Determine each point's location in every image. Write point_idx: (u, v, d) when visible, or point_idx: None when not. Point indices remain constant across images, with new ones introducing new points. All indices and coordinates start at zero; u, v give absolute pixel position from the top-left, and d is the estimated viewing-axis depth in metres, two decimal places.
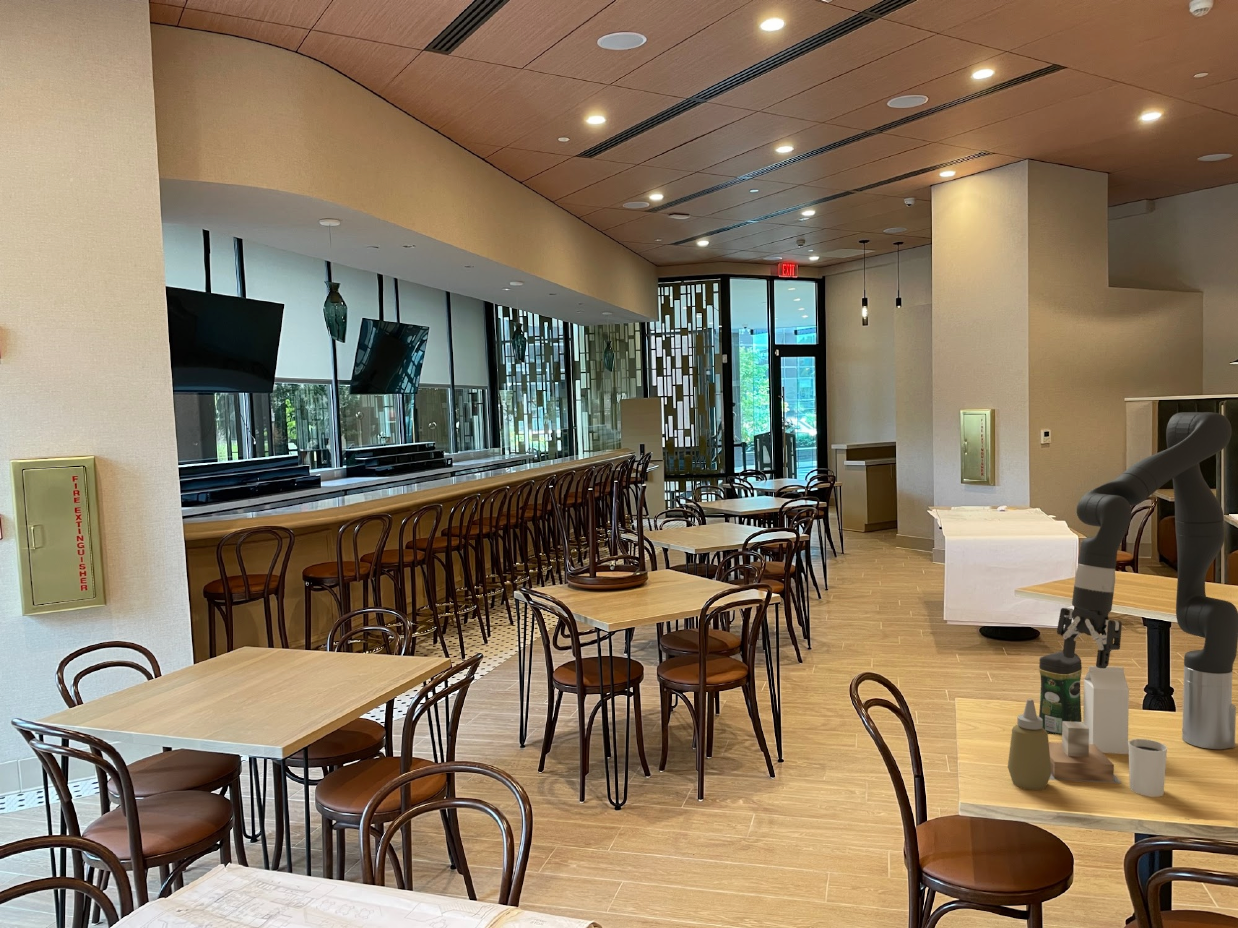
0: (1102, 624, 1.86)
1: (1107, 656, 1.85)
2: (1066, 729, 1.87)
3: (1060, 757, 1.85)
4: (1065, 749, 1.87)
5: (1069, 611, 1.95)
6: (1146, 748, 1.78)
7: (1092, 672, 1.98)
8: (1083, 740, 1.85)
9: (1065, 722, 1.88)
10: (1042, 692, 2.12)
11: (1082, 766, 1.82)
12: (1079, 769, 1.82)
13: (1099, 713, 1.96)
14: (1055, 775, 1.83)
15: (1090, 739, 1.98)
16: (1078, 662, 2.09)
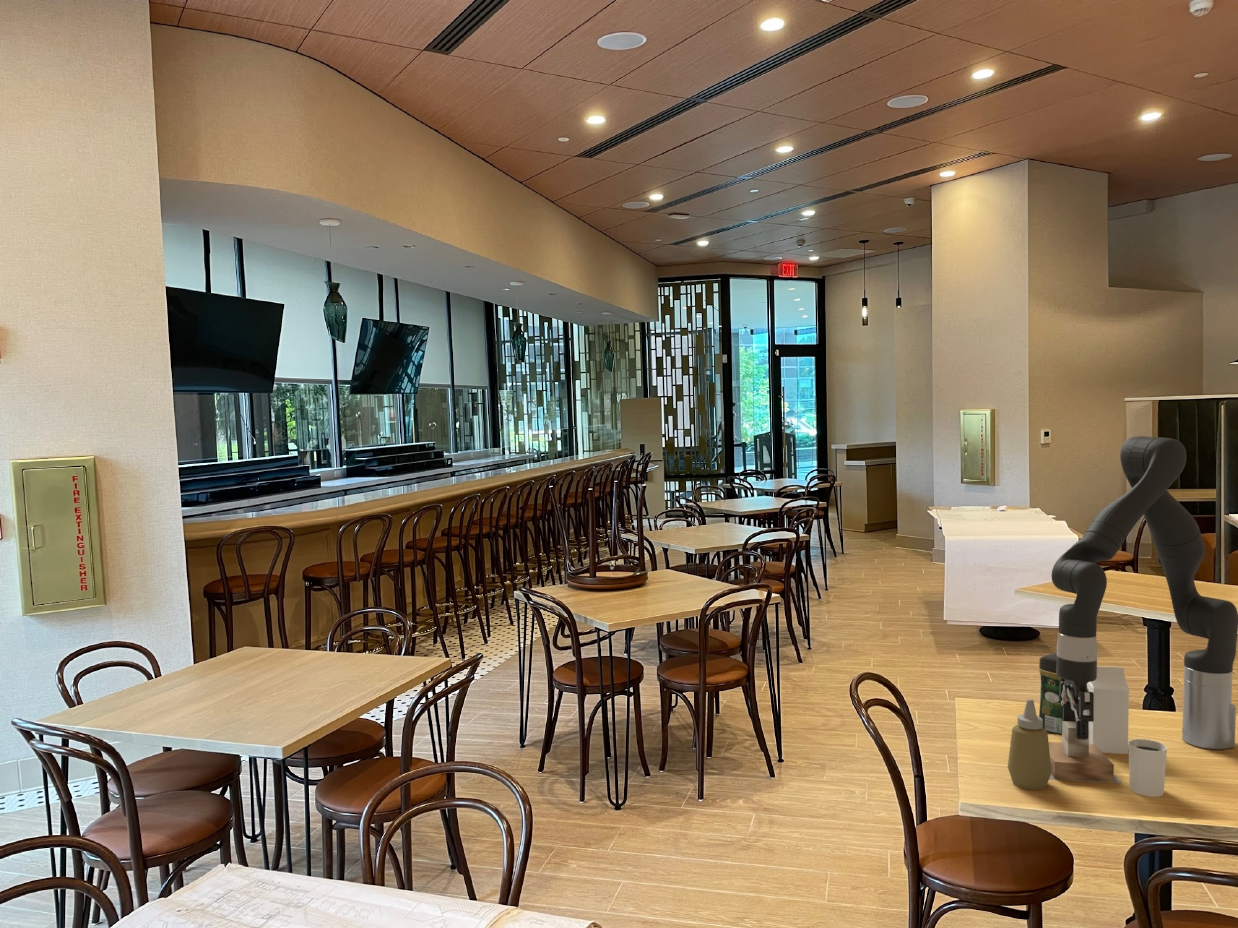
0: (1078, 694, 1.82)
1: (1084, 727, 1.81)
2: (1066, 729, 1.87)
3: (1060, 757, 1.85)
4: (1065, 749, 1.87)
5: None
6: (1146, 748, 1.78)
7: None
8: (1083, 740, 1.85)
9: (1065, 722, 1.88)
10: (1042, 692, 2.12)
11: (1082, 766, 1.82)
12: (1079, 769, 1.82)
13: (1099, 713, 1.96)
14: (1055, 775, 1.83)
15: (1090, 739, 1.98)
16: None
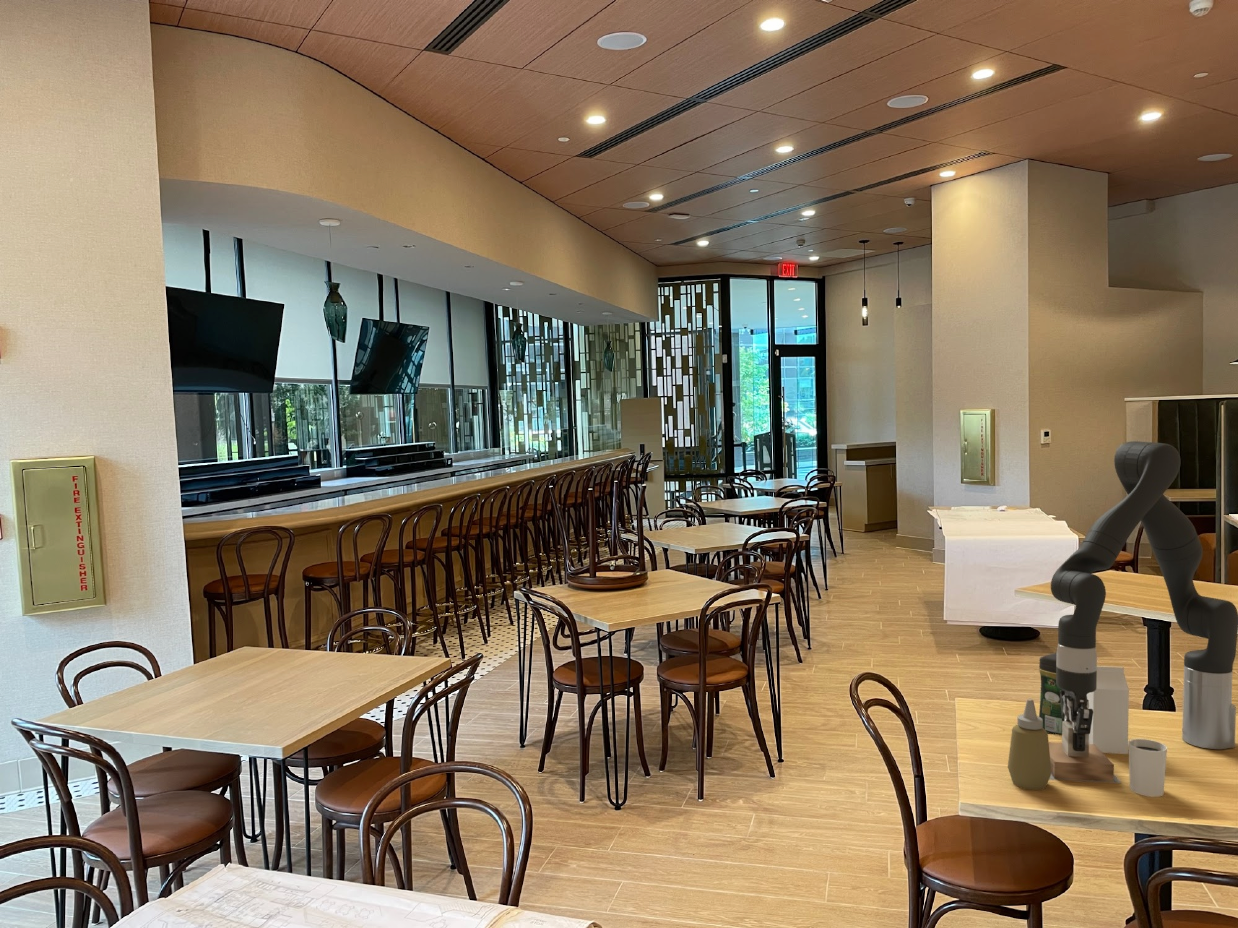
0: (1077, 706, 1.83)
1: (1081, 739, 1.84)
2: (1066, 729, 1.87)
3: (1060, 757, 1.85)
4: (1065, 749, 1.87)
5: None
6: (1146, 748, 1.78)
7: None
8: None
9: (1065, 722, 1.88)
10: (1042, 692, 2.12)
11: (1082, 766, 1.82)
12: (1079, 769, 1.82)
13: (1099, 713, 1.96)
14: (1055, 775, 1.83)
15: (1090, 739, 1.98)
16: None
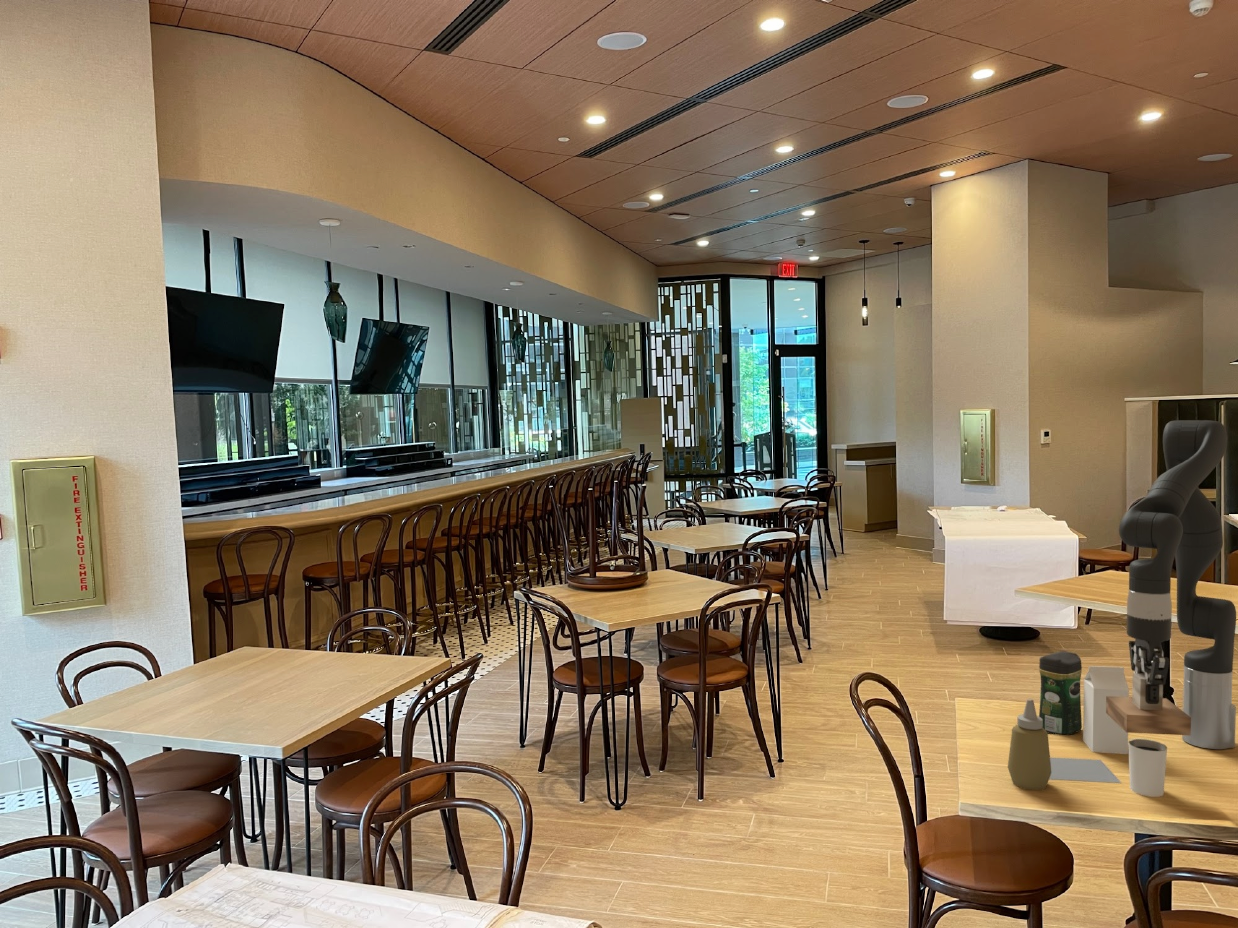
0: (1151, 656, 1.72)
1: (1155, 691, 1.72)
2: (1137, 681, 1.75)
3: (1132, 710, 1.74)
4: (1136, 702, 1.76)
5: None
6: (1146, 748, 1.78)
7: (1092, 672, 1.98)
8: None
9: (1136, 674, 1.77)
10: (1042, 692, 2.12)
11: (1157, 719, 1.70)
12: (1153, 722, 1.71)
13: (1099, 713, 1.96)
14: (1127, 729, 1.72)
15: (1090, 739, 1.98)
16: (1078, 662, 2.09)
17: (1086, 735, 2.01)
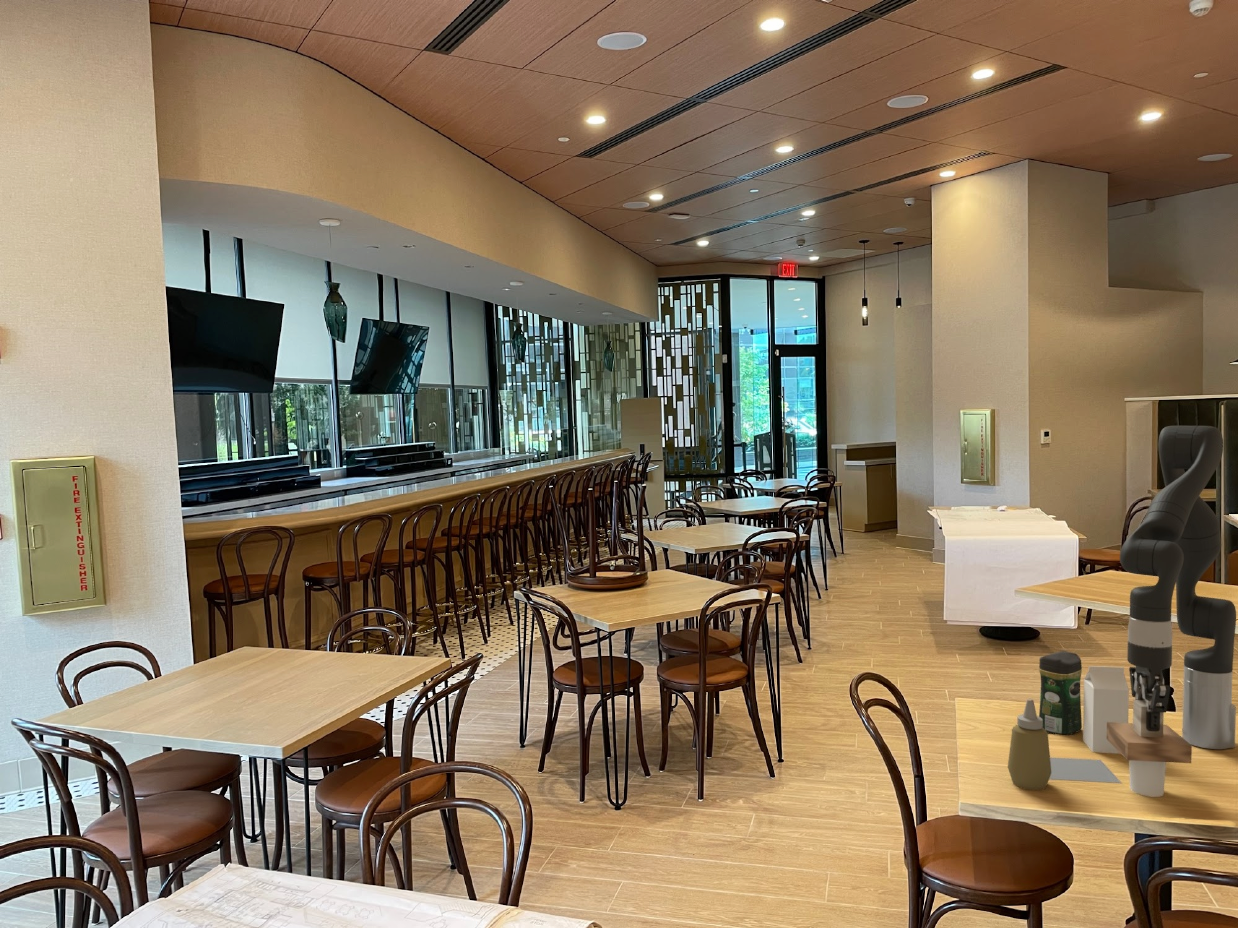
0: (1152, 683, 1.72)
1: (1156, 719, 1.72)
2: (1138, 708, 1.75)
3: (1133, 738, 1.74)
4: (1137, 729, 1.76)
5: (1136, 668, 1.80)
6: None
7: (1092, 672, 1.98)
8: None
9: (1137, 701, 1.77)
10: (1042, 692, 2.12)
11: (1157, 747, 1.71)
12: (1154, 750, 1.71)
13: (1099, 713, 1.96)
14: (1128, 756, 1.72)
15: (1090, 739, 1.98)
16: (1078, 662, 2.09)
17: (1086, 735, 2.01)
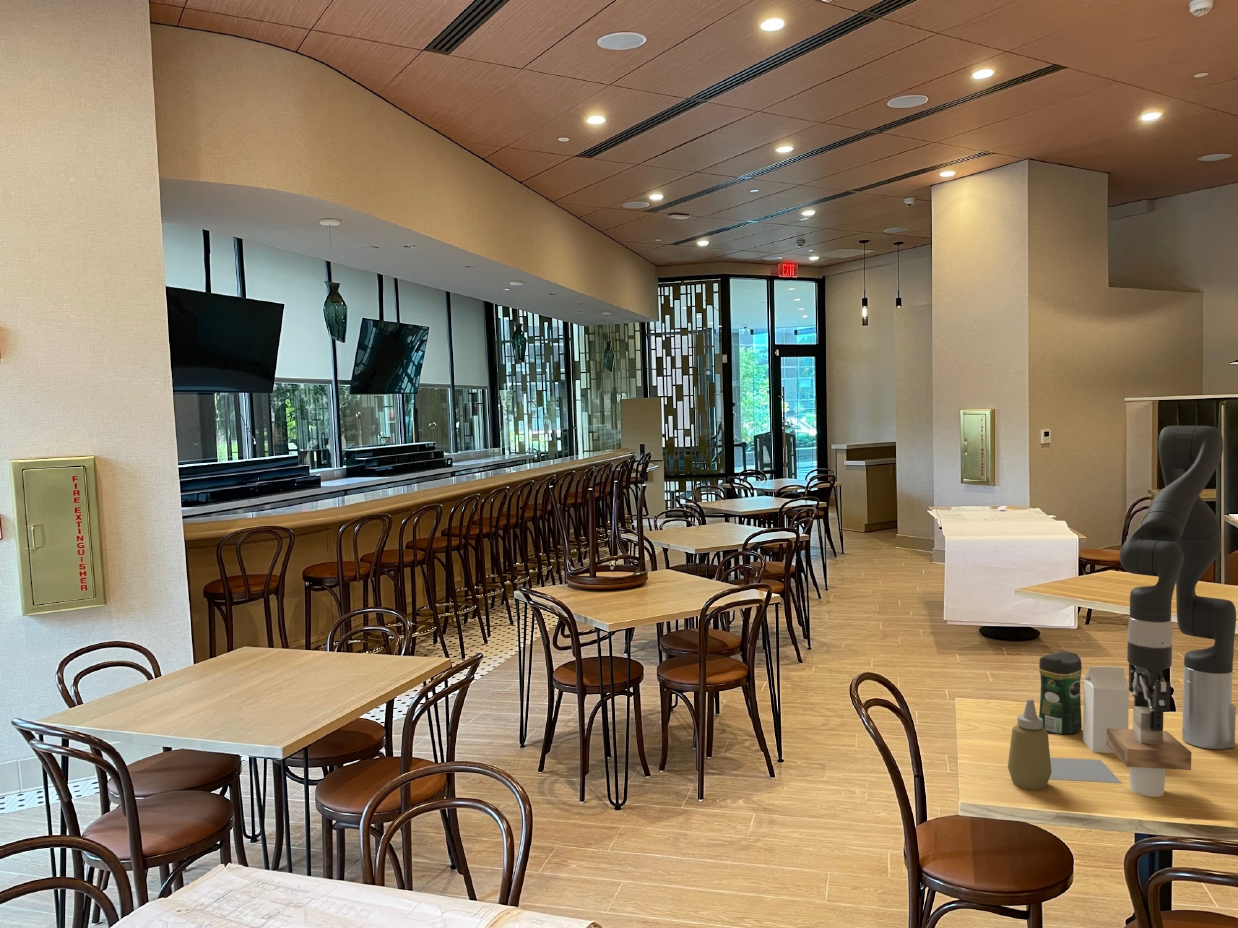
0: (1152, 683, 1.72)
1: (1159, 718, 1.71)
2: (1138, 714, 1.76)
3: (1132, 744, 1.74)
4: (1137, 736, 1.76)
5: (1136, 666, 1.80)
6: None
7: (1092, 672, 1.98)
8: None
9: (1136, 707, 1.77)
10: (1042, 692, 2.12)
11: (1157, 753, 1.71)
12: (1154, 757, 1.71)
13: (1099, 713, 1.96)
14: (1128, 763, 1.72)
15: (1090, 739, 1.98)
16: (1078, 662, 2.09)
17: (1086, 735, 2.01)
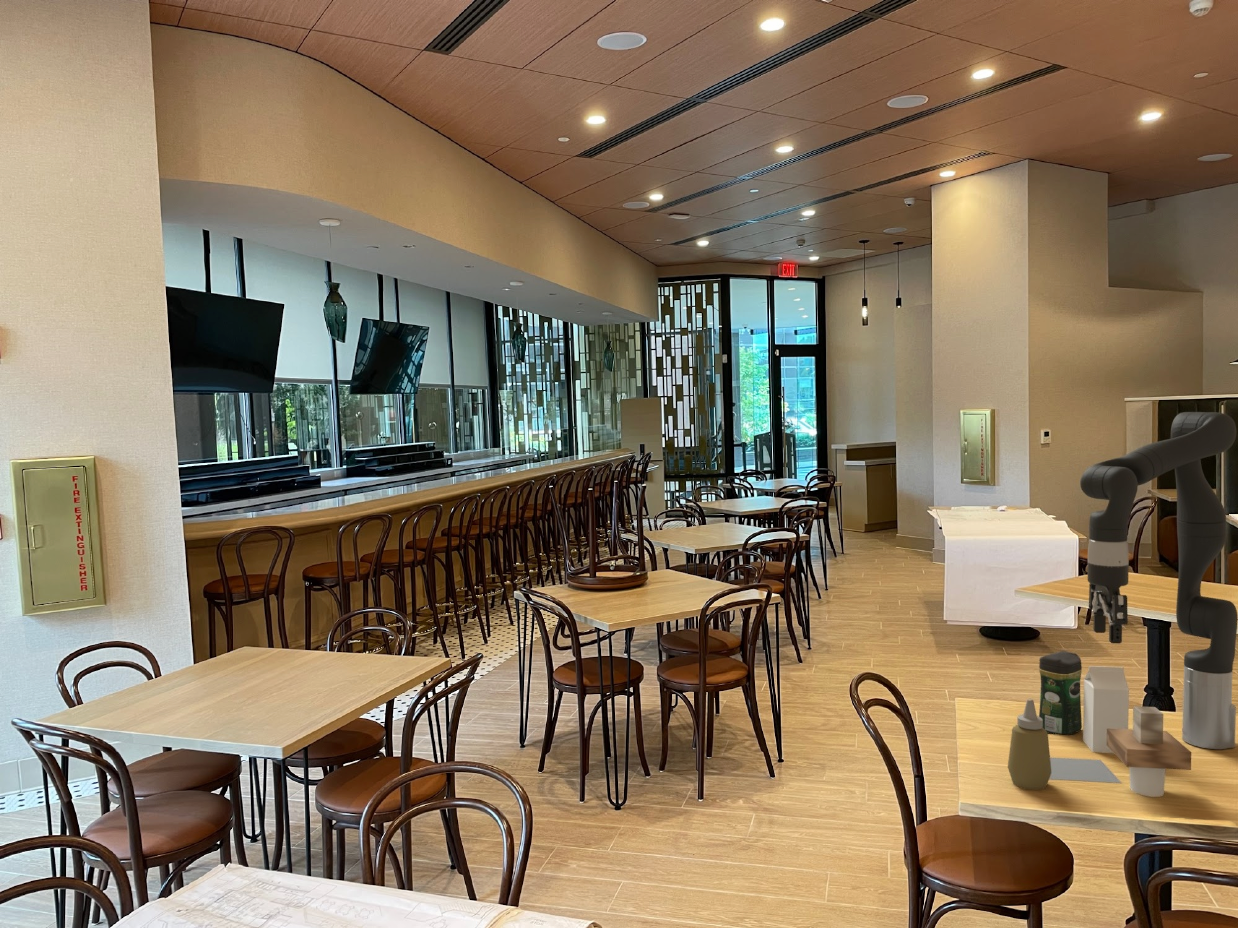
0: (1111, 599, 1.83)
1: (1118, 631, 1.82)
2: (1138, 714, 1.76)
3: (1132, 744, 1.74)
4: (1137, 736, 1.76)
5: (1096, 586, 1.92)
6: None
7: (1092, 672, 1.98)
8: (1157, 726, 1.74)
9: (1136, 707, 1.77)
10: (1042, 692, 2.12)
11: (1157, 753, 1.71)
12: (1154, 757, 1.71)
13: (1099, 713, 1.96)
14: (1128, 763, 1.72)
15: (1090, 739, 1.98)
16: (1078, 662, 2.09)
17: (1086, 735, 2.01)
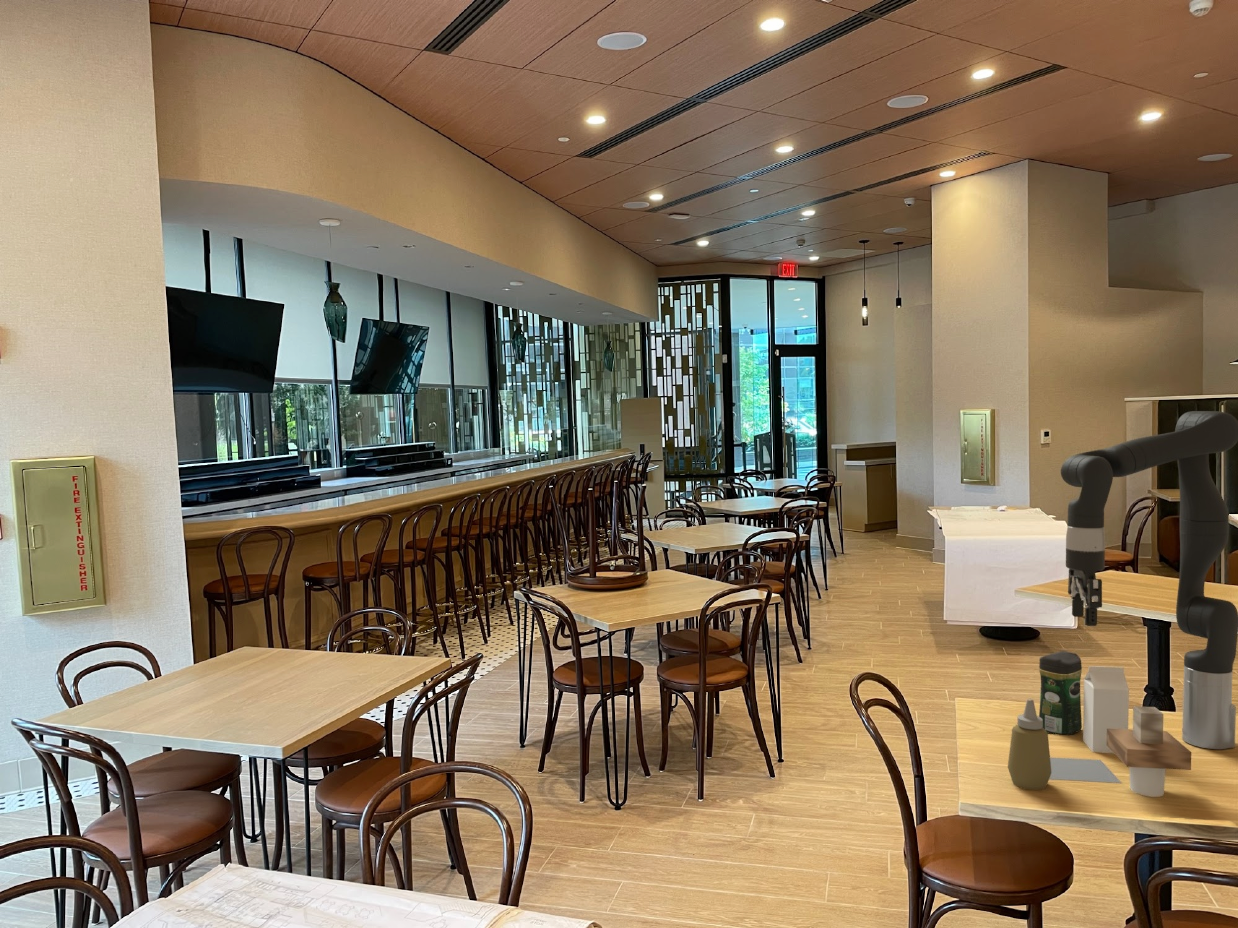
0: (1087, 583, 1.90)
1: (1093, 614, 1.89)
2: (1138, 714, 1.76)
3: (1132, 744, 1.74)
4: (1137, 736, 1.76)
5: None
6: None
7: (1092, 672, 1.98)
8: (1157, 726, 1.74)
9: (1136, 707, 1.77)
10: (1042, 692, 2.12)
11: (1157, 753, 1.71)
12: (1154, 757, 1.71)
13: (1099, 713, 1.96)
14: (1128, 763, 1.72)
15: (1090, 739, 1.98)
16: (1078, 662, 2.09)
17: (1086, 735, 2.01)
